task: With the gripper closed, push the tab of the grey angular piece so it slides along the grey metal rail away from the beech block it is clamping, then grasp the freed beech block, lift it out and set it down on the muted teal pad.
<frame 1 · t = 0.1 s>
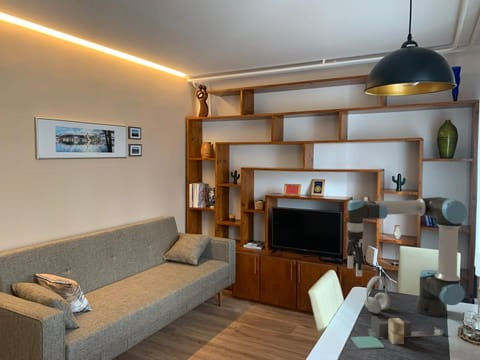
hand: (354, 272, 192), 28 cm above the table, fingers open, 13 cm apart
rail: (405, 334, 183), on the table
beech block: (395, 341, 177), on the table
headphones: (376, 312, 210), on the table
grey angular piece: (390, 325, 186), point 3 cm above the table, slide at 0.0 cm
pad: (367, 343, 175), on the table
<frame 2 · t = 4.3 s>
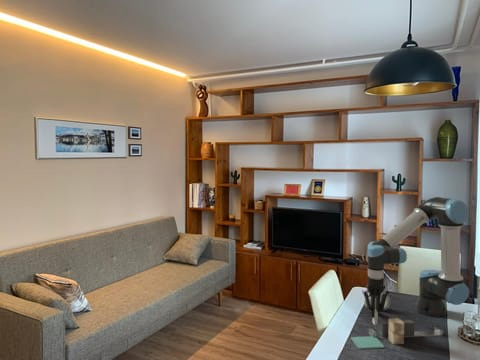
hand: (375, 323, 187), 4 cm above the table, fingers closed
grey angular piece: (393, 325, 186), point 3 cm above the table, slide at 1.6 cm, touching gripper
everything else where it was.
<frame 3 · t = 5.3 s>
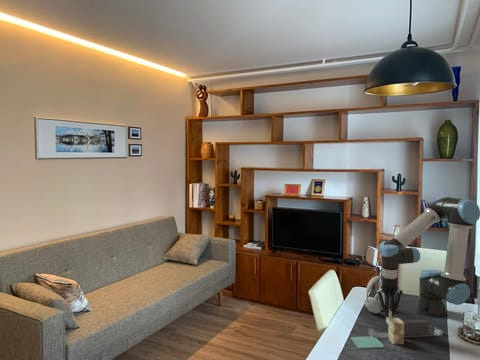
hand: (388, 323, 188), 4 cm above the table, fingers closed
grey angular piece: (407, 324, 186), point 3 cm above the table, slide at 8.7 cm, touching gripper
everything else where it was.
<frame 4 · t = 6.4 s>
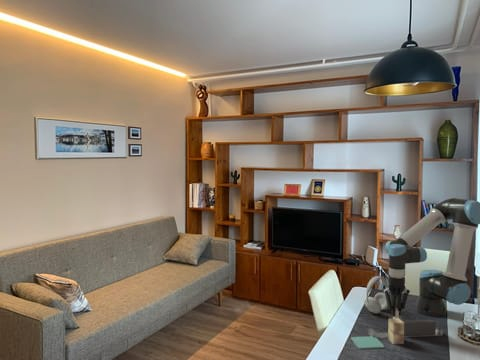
hand: (395, 322, 188), 4 cm above the table, fingers closed
grey angular piece: (414, 324, 186), point 3 cm above the table, slide at 12.2 cm, touching gripper
everything else where it was.
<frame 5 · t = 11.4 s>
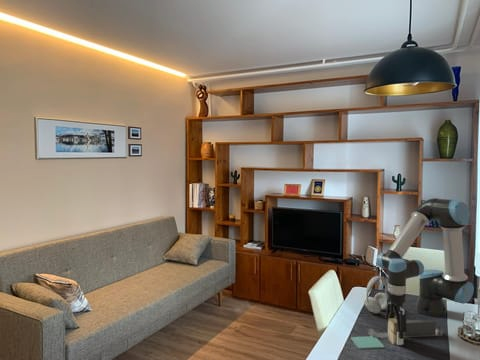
hand: (395, 339, 177), 0 cm above the table, fingers open, 8 cm apart
grey angular piece: (414, 324, 186), point 3 cm above the table, slide at 12.2 cm
everything else where it was.
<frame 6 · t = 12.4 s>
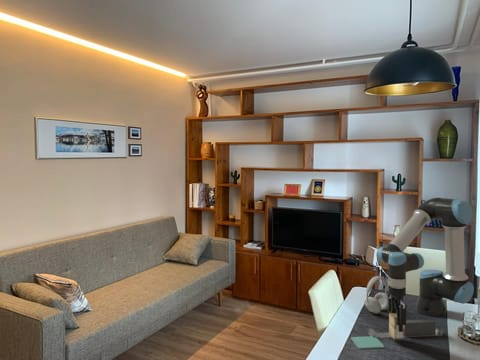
hand: (396, 334, 177), 3 cm above the table, fingers closed on beech block, 5 cm apart
beech block: (396, 335, 177), point 2 cm above the table, touching gripper
everything else where it was.
when the fingers open (2 cm above the table, at t = 16.8 s): beech block stays where it is, resting on pad.
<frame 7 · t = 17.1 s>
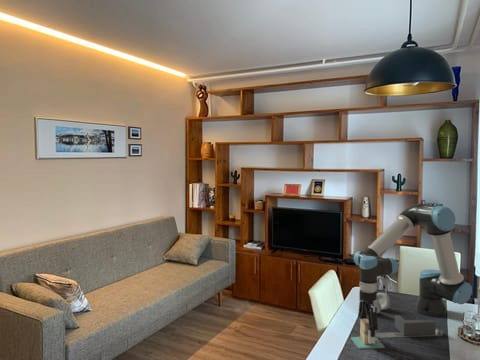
hand: (367, 337, 175), 2 cm above the table, fingers open, 9 cm apart
beech block: (367, 341, 175), point 1 cm above the table, touching pad
everything else where it was.
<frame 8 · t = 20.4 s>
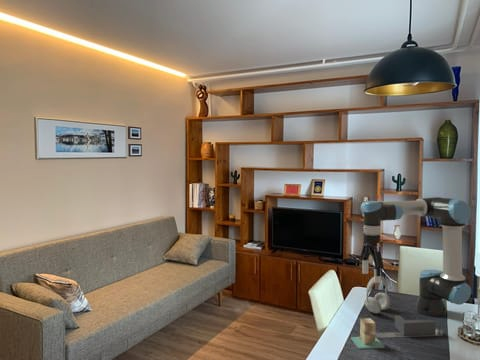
hand: (371, 277, 180), 29 cm above the table, fingers open, 13 cm apart
nothing on the table moved.
at the end: grey angular piece slide at 12.2 cm; beech block 0.0 cm from the pad (horizontally); beech block point 0.6 cm above the table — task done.
